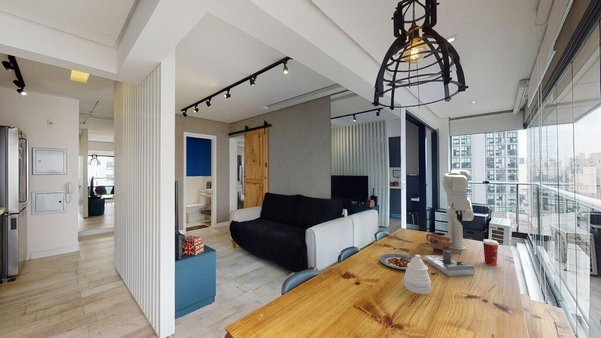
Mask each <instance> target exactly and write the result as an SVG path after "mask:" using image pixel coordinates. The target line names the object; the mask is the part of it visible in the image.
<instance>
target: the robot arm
mask: <svg viewBox="0 0 601 338" xmlns="http://www.w3.org/2000/svg"><path fill="white" fill-rule="evenodd" d="M469 180H470V173H469V171H467V170H466V169H452V170H449V171H448V172H447V173H445V174H444V175H443V177H442V188H443V190H444V193H446V198H447V206H448V208H447V209H446V218H447V235H448V236H449V237H450V239H451V241H452V243H453V245H452V246H450V247H449V249H451V250H457V251H463V250H466V246H465V245H463V244H464V243H463V242H464V239H463V237H464V236H463V235H464V234H463V224H462V223H461V222H460V221H468V222H470V221H473V220H474V218H475V215H474V209H473V203H472V201H471V199H470V198H469V197H468V196H467V194H468V192H467V187H468V185H469Z"/></svg>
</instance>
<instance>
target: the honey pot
mask: <svg viewBox="0 0 601 338" xmlns="http://www.w3.org/2000/svg"><path fill="white" fill-rule="evenodd" d="M413 257H414V258H412V260H411V261H410V263H408V264H407V269H405V272H404V273H405V274H404V275H403V287H404V286H405V287H406V288H407V289H408V290H410V291H413V292H416V293H422V294H426V293H430V292H431V293H432V280H431V277H430V274H429V272H428V271H429V267H428V266H427V264H425V263H424V260H422V259H421V258H422V257H421V255H420V254H415V256H413ZM405 287H404V288H405ZM407 289H406V290H407ZM408 290H407V291H408ZM410 291H409V292H410ZM431 293H430V294H431ZM426 295H427V294H426Z"/></svg>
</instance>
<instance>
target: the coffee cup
mask: <svg viewBox="0 0 601 338" xmlns="http://www.w3.org/2000/svg"><path fill="white" fill-rule="evenodd" d="M482 243H483V244H482V245H483V255H484V263H485V265H488V266H489V265H490V266H497V264H498V252H499V251H498V250H499V249H498V248H499V242H498V241H497V240H494V239H487V238H486V239H485V238H484V239H483V241H482Z"/></svg>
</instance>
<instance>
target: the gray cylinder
mask: <svg viewBox="0 0 601 338" xmlns="http://www.w3.org/2000/svg"><path fill="white" fill-rule="evenodd" d="M442 255H443V263H445V264H451V258H452V251H451V250H449V251H448V250H443V254H442Z"/></svg>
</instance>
